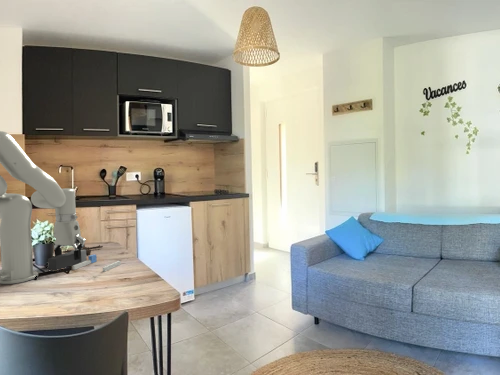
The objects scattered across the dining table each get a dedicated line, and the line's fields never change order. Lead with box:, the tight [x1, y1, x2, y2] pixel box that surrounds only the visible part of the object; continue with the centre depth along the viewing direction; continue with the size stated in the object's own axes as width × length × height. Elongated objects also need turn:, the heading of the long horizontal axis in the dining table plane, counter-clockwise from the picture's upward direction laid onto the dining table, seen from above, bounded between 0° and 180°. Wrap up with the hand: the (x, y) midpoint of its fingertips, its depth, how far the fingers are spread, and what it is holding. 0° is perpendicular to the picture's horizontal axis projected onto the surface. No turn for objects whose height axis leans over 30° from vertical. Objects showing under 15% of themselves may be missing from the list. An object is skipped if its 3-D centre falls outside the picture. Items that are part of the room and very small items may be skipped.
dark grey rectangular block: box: [47, 249, 88, 271], centre depth 144 cm, size 16×5×5 cm, turn 165°
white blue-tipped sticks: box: [72, 254, 122, 272], centre depth 144 cm, size 12×29×3 cm, turn 75°
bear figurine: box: [62, 244, 104, 256], centre depth 168 cm, size 18×4×14 cm
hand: (68, 258), depth 145 cm, fingers open, 9 cm apart
